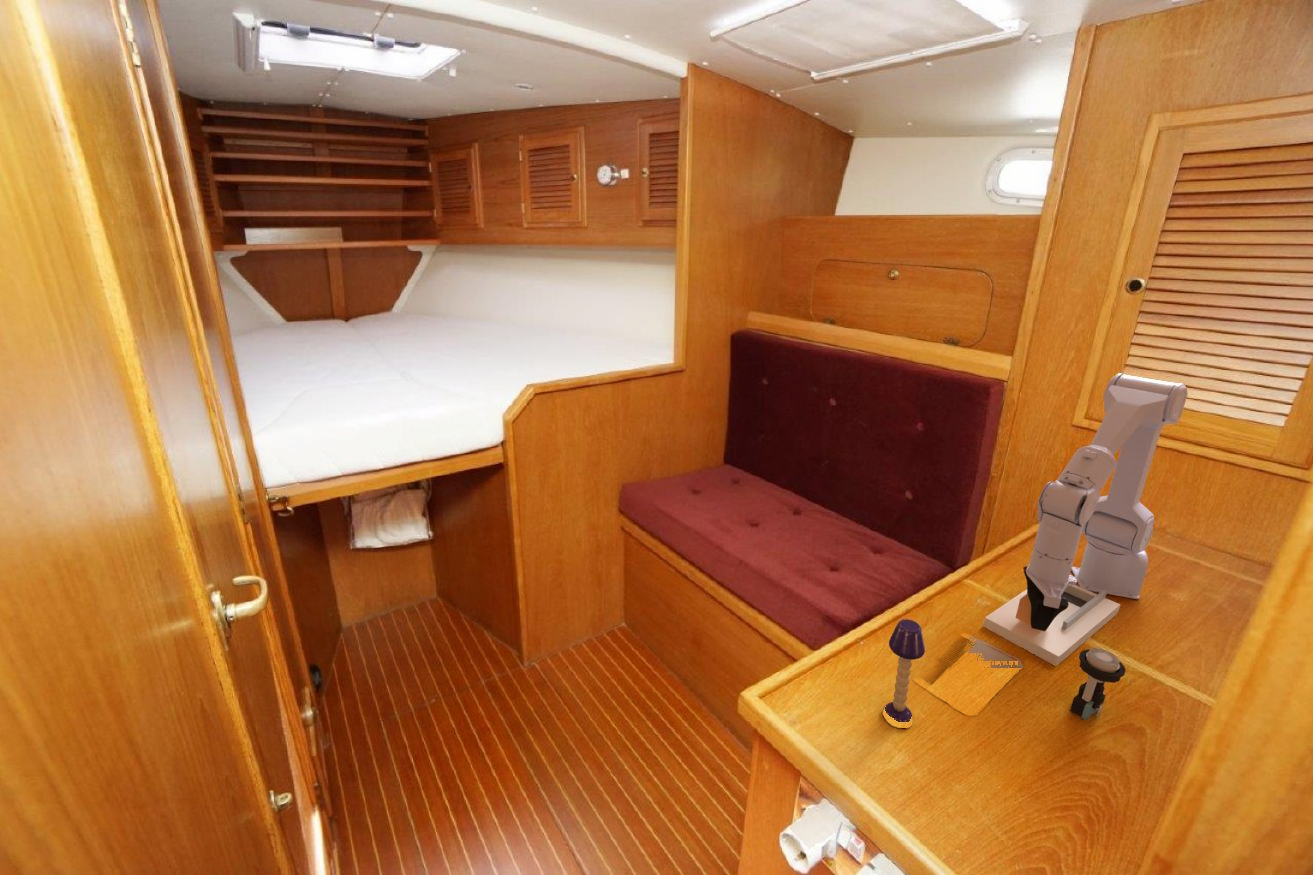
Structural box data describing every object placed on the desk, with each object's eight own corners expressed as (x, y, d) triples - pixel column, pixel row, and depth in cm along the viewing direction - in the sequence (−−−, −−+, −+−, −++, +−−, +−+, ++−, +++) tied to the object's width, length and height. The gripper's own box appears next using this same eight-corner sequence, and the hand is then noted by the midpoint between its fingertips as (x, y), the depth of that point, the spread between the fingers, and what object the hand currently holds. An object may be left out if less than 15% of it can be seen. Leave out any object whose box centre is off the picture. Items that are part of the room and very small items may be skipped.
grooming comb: (963, 633, 102) (964, 630, 102) (1026, 666, 94) (1027, 662, 94) (908, 682, 91) (908, 678, 91) (973, 723, 84) (973, 719, 84)
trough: (1047, 582, 115) (1051, 567, 114) (1117, 613, 106) (1122, 597, 105) (983, 626, 103) (986, 610, 102) (1056, 666, 94) (1061, 649, 92)
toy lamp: (893, 734, 82) (910, 640, 76) (870, 710, 86) (885, 619, 80) (919, 723, 83) (937, 630, 77) (895, 700, 87) (911, 610, 82)
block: (1026, 609, 102) (1031, 590, 101) (1050, 621, 99) (1056, 602, 98) (1015, 617, 100) (1020, 598, 99) (1040, 630, 97) (1045, 610, 96)
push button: (1080, 688, 89) (1096, 636, 86) (1120, 711, 85) (1139, 657, 81) (1057, 705, 86) (1073, 652, 83) (1097, 730, 82) (1116, 675, 78)
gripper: (1091, 579, 87) (1070, 651, 92) (1075, 535, 99) (1057, 600, 104) (1037, 568, 90) (1019, 638, 95) (1028, 527, 102) (1012, 590, 107)
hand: (1036, 618), depth 100 cm, fingers closed on block, 5 cm apart
